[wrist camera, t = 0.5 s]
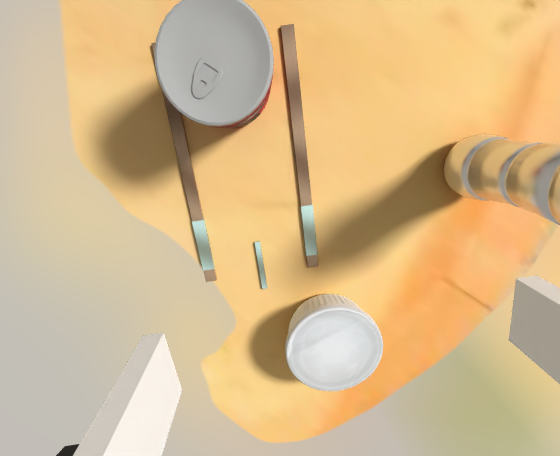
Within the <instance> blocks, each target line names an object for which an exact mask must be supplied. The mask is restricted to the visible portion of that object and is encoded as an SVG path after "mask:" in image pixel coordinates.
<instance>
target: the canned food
mask: <svg viewBox="0 0 560 456" xmlns="http://www.w3.org/2000/svg"><path fill="white" fill-rule="evenodd" d="M154 53H155V68H156V72H157V77H158V80H159V83H160V85H161V87H162V90H163V92H164V93H165V95H166V96H167V98H168V100H169V101H170V102H171V103H172V104H173V106H174V107H175V108H176V109H177V110H178V111H179V112H181V113H182V114H183V115H185V116H186V117H187V118H189V119H191V120H193V121H195V122H197V123H200V124H204V125H207V126H211V127H223V128H237V127H242V126H244V125H247V124H249V123H250V122H252V121H253V120H255V119H256V118H257V117H258V116H259V115H260V114H261V112H262V111H263V109H264V108H265V106H266V103H267V101H268V98H269V94H270V89H271V84H272V78H273V65H274V58H273V49H272V45H271V41H270V38H269V35H268V32H267V30H266V28H265V26H264V24H263V22H262V20H261V19H260V18H259V16H258V15H257V14H256V12H255V11H254V10H253V9H252V8H251V7H250V6H249V5H247V4H246V3H245V2H244V1H242V0H182V1H180V2H179V3H178V4H176V5H175V6H174V7H173V9H172V10H171V11H170V12H169V13H168V14H167V16H166V17H165V19H164V21H163V23H162V25H161V26H160V29H159V32H158V35H157V38H156V45H155V52H154Z"/></svg>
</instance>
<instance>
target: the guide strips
mask: <svg viewBox="0 0 560 456" xmlns="http://www.w3.org/2000/svg"><path fill="white" fill-rule="evenodd" d="M281 33H282V42H283V51H284V59H285V68H286V77H287V86H288V95H289V104H290V113H291V121H292V130H293V139H294V148H295V157H296V166H297V175H298V183H299V192H300V201H301V214H302V223H303V232H304V240H305V249H306V256H307V263H308V267H314V266H318V259H317V255H318V254H317V244H316V234H315V224H314V214H313V205H312V200H311V190H310V180H309V170H308V160H307V150H306V141H305V131H304V121H303V111H302V101H301V91H300V81H299V72H298V62H297V52H296V42H295V32H294V24H290V25H283V26H281ZM151 44H152V48H153V52H155V45H156V43H151ZM154 57H155V53H154ZM162 91H163V90H162ZM163 96H164V100H165V104H166V109H167V113H168V118H169V122H170V126H171V131H172V135H173V139H174V144H175V148H176V152H177V157H178V161H179V165H180V170H181V174H182V179H183V183H184V187H185V192H186V196H187V200H188V205H189V209H190V213H191V218H192V225H193V229H194V233H195V238H196V242H197V246H198V251H199V255H200V260H201V264H202V268H203V271H204V274H205V279H206V281H207V282H208V281H215V280H217V279H216V274H215V269H214V268H215V267H214V263H213V258H212V253H211V249H210V244H209V240H208V235H207V230H206V226H205V221H204V219H203V214H202V209H201V205H200V200H199V196H198V191H197V186H196V182H195V177H194V173H193V168H192V163H191V159H190V154H189V150H188V145H187V140H186V136H185V131H184V127H183V122H182V117H181V113H180V112H179V111H178V110H177V109H176V108H175V107H174V106H173V104H172V103H171V102H170V101H169V100H168V98H167V96H166V95H165V93H164V92H163ZM255 248H256V254H257V260H258V266H259V272H260V278H261V284H262V289H265V288H267V283H266V277H265V271H264V264H263V258H262V252H261V246H260V241H258V242H255Z"/></svg>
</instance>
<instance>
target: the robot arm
mask: <svg viewBox="0 0 560 456" xmlns="http://www.w3.org/2000/svg"><path fill="white" fill-rule="evenodd" d="M514 293H515V294H514V301H513V309H512V318H511V326H510V335H509V341H510V342H512V343H513V344H514V345H515V346H516V347H517V348H519V349H520V350H521V351H522V352H523V353H524V354H525V355H527V356H528V357H529V358H530V359H531V360H532V361H534V362H535V363H536V364H537V365H538V366H539V367H541V368H542V369H543V370H544V371H545V372H546V373H547V374H549V375H550V376H551V377H552V378H553V379H554V380H555V381H557V382H558V383H559V384H560V288H559V287H557V286H555V285H553V284H551V283H549V282H547V281H546V280H544V279H542V278H540V277H538V276H531V277H524V278H517V279H516V284H515V292H514ZM181 392H182V389H181V386H180V382H179V379H178V376H177V373H176V370H175V367H174V363H173V360H172V357H171V354H170V351H169V348H168V345H167V341H166V338H165V335H164V333H157V334H151V335H144V336H143V337H142V338H141V340H140V342H139V343H138V345H137V347H136V349H135V350H134V352H133V354H132V355H131V357H130V359H129V361H128V362H127V364H126V366H125V367H124V369H123V371H122V373H121V374H120V376H119V378H118V380H117V381H116V383H115V385H114V386H113V388H112V390H111V391H110V393H109V395H108V397H107V398H106V400H105V402H104V403H103V405H102V407H101V409H100V410H99V412H98V414H97V415H96V417H95V419H94V420H93V422H92V424H91V426H90V427H89V429H88V431H87V432H86V434H85V436H84V438H83V439H82V441H81V443H80V444H77V445H71V446H65V447H64V448H63V449H62V450H61V451H60V452H59V453H58V454H57V455H56V456H161V455H162V452H163V449H164V446H165V443H166V440H167V436H168V433H169V430H170V426H171V424H172V420H173V417H174V414H175V411H176V408H177V404H178V401H179V398H180V395H181Z"/></svg>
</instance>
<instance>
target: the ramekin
mask: <svg viewBox="0 0 560 456" xmlns="http://www.w3.org/2000/svg"><path fill="white" fill-rule="evenodd" d="M382 352H383V340H382V336H381V333H380V330H379V328H378V326H377V325H376V323H375V322H374V320H373V319H372V318H371V317H370V316H369V315H368V314H367V313H365V312H364V311H363V310H362V309H361V308H360V307H359V306H358V305H357V304H356V303H355V302H353V301H352V300H350V299H348V298H346V297H344V296H340V295H337V294H322V295H317V296H315V297H312V298H310V299H308V300H307V301H305V302H303V304H301V305H300V306H299V307H298V308H297V310H296V311H295V312H294V314H293V316H292V318H291V321H290V325H289V331H288V336H287V339H286V345H285V353H286V360H287V363H288V366H289V368H290V370H291V372H292V373H293V375H294V376H295V377H296V378H297V379H298V380H299V381H301V382H302V383H304V384H305V385H307V386H309V387H311V388H314V389H318V390H322V391H340V390H344V389H348V388H351V387H353V386H355V385H357V384H359V383H361V382H362V381H364V380H365V379H367V378H368V377H369V376H370V375H371V374H372V373H373V372H374V371H375V369H376V368H377V366H378V364H379V362H380V359H381V356H382Z"/></svg>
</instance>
